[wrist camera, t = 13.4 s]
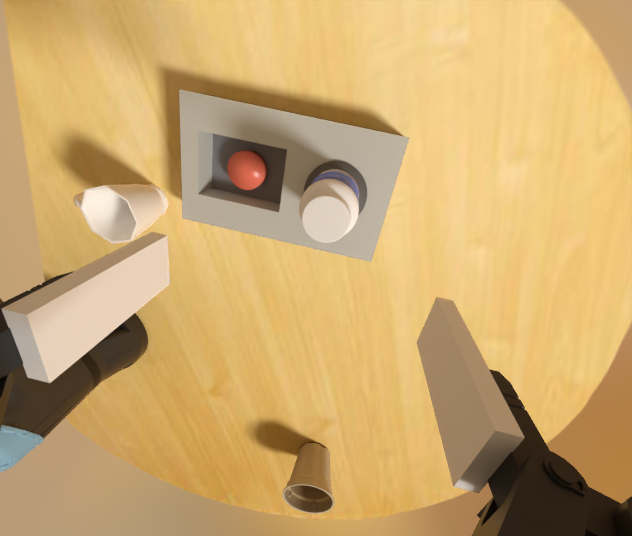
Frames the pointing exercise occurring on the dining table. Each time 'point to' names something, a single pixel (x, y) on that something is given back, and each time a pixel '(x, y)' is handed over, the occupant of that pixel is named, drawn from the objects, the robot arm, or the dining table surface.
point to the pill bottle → (330, 206)
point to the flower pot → (310, 481)
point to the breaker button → (247, 169)
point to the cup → (121, 209)
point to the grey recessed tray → (281, 170)
